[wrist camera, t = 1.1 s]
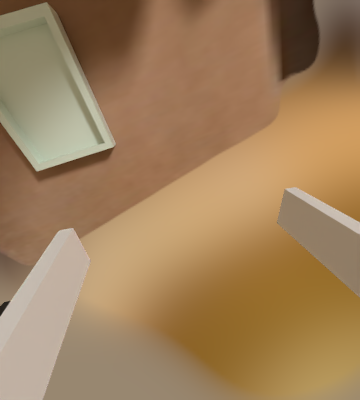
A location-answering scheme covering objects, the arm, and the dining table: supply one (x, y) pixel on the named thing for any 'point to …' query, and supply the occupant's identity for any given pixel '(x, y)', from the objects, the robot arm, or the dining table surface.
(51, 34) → the tray
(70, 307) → the robot arm
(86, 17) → the dining table surface
